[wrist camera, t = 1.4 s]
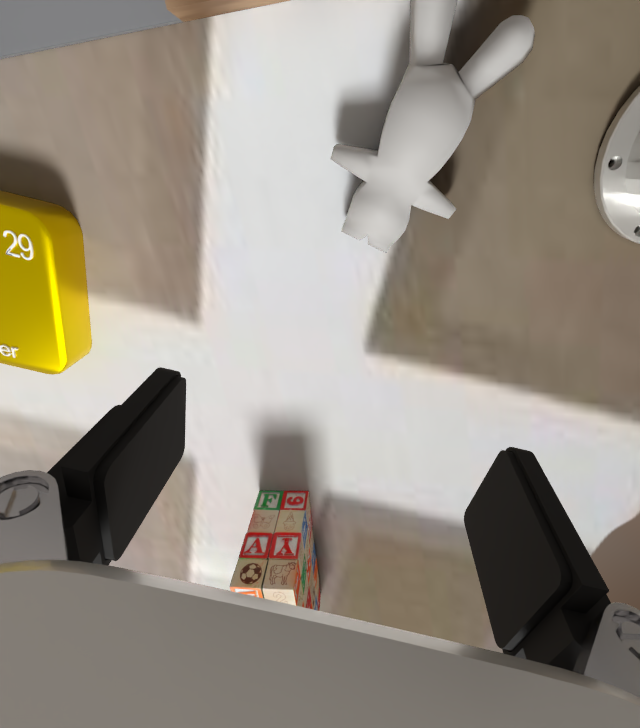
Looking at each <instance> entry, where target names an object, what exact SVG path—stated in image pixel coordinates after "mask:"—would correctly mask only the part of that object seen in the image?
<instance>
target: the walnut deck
mask: <svg viewBox="0 0 640 728" xmlns="http://www.w3.org/2000/svg"><path fill="white" fill-rule="evenodd" d="M284 1H289V0H165V4H166V8H167V10H168V11H170V12H171V13H172V14H174V15H175V16H176V17H177V18H179V19H180V20H181V21H183V22H186V21H191V20H196V19H201V18H206V17H210V16H215V15H220V14H225V13H230V12H235V11H240V10H245V9H250V8H255V7H260V6H265V5H269V4H274V3H279V2H284Z"/></svg>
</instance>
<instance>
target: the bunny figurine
mask: <svg viewBox="0 0 640 728" xmlns="http://www.w3.org/2000/svg"><path fill="white" fill-rule="evenodd" d="M456 5H457V0H411V1H410V59H409V64H408V67H407V69H406V71H405V74H404V76H403V78H402V81H401V83H400V86H399V88H398V90H397V92H396V94H395V96H394V98H393V100H392V102H391V104H390V107H389V110H388V113H387V116H386V119H385V122H384V126H383V129H382V133H381V138H380V143H379V148H378V150H373V149H367V148H361V147H355V146H348V145H342V144H336V145H335V146H334V149H333V152H332V156H331V160H333V161H334V162H336V163H337V164H339V165H340V166H342V167H343V168H345V169H346V170H348V171H349V172H351V173H352V174H354V175H355V176H357V177H359V178H360V179H362V180H364V181H363V182H362V183H361V184H360V185H359V187H358V188H357V190H356V191H355V193H354V195H353V198H352V201H351V204H350V207H349V210H348V214H347V217H346V220H345V222H344V225H343V227H342V232H344V233H346V234H348V235H350V236H352V237H354V238H356V239H358V240H361V239H363V238H364V237H366V236H367V235H368V245H371V246H373V247H375V248H377V249H379V250H381V251H383V252H385V253H387V251H388V249H389V248H390V246H391V245H392V244H393V243H395V242H396V241H397V240H398V239H399V237H400V236H401V235H402V234H403V233H404V232H405V229H406V227H407V224H408V221H409V217H410V210H411V205H413V206H415V207H417V208H420V209H422V210H425V211H428V212H431V213H433V214H436V215H439V216H442V217H444V218H447V219H449V218H450V216H451V215H452V214H453V213H454V211H455V210H456V208H455V207H454V205H453V204H452V202H451V201H450V200H449V199H448V198H447V197H446V196H445V195H444V194H443V193H442V192H441V191H440V190H439V189H438V188H437V187H436V186H435V185H434V184H433V183H432V182H431V181H430V179H431V178H432V177H433V176H434V175H435V174H436V173H437V172H438V171H439V170H440V169H441V168H442V167H443V165H444V164H445V163H446V162H447V160H448V159H449V158H450V156H451V155H452V154H453V152H454V151H455V149H456V148H457V146H458V145H459V143H460V142H461V140H462V138H463V136H464V134H465V132H466V130H467V128H468V126H469V124H470V122H471V118H472V113H473V109H474V104H475V100H476V98H478V97H479V96H480V95H482V94H483V93H484V92H485V91H487V90H488V89H489V88H491V87H492V86H493V85H494V84H496V83H497V82H498V81H500V80H501V79H502V78H503V77H505V76H506V75H507V74H509V73H510V72H511V71H512V70H514V69H515V68H516V67H517V66H519V65H520V64H521V63H523V61H524V60H525V59H526V57H527V56H528V55H529V53H530V52H531V51H532V48H533V43H534V37H535V32H534V27H533V25H532V23H531V21H530V19H529V18H528V17H525V16H523V15H513V16H511V17H509V18H507V19H506V20H504V21H502V22H501V23H500V24H499V25H498V26H497V28H496V29H495V30H494V31H493V32H492V33H491V35H490V36H489V37H488V38H487V39H486V40H485V42H484V43H483V44H482V45H481V46H480V48H479V49H478V50H477V51H476V52H475V53H474V55H473V56H472V57H471V58H470V59H469V61H468V62H467V63H466V64H465V65H464V66H463V68H462V69H461V70H460V71H459V72H458V71H457V69H456V68H455V67H454V66H453V64H449V63H443V61H444V56H445V52H446V48H447V43H448V39H449V35H450V30H451V26H452V22H453V18H454V13H455V9H456Z"/></svg>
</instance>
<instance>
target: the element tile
mask: <svg viewBox="0 0 640 728" xmlns="http://www.w3.org/2000/svg"><path fill="white" fill-rule="evenodd" d="M91 346H92V339H91V327H90V316H89V304H88V292H87V280H86V269H85V257H84V245H83V234H82V230H81V228H80V226H79V223H78V221H77V219H76V218H75V217H74V216H73V215H72V213H71V212H69V211H68V210H66V209H65V208H63V207H61V206H59V205H56V204H53V203H49V202H45V201H41V200H37V199H33V198H29V197H25V196H21V195H17V194H13V193H8V192H4V191H0V363H3V364H7V365H12V366H16V367H20V368H24V369H29V370H33V371H37V372H42V373H46V374H59V373H62V372H63V371H65V370H66V369H67V368H69V367H70V366H72V365H73V364H74V363H76V362H77V361H78V360H80V359H81V358H83V357H84V356H85V355H87V354H88V353H89V352H90V349H91Z"/></svg>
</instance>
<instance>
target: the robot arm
mask: <svg viewBox="0 0 640 728" xmlns="http://www.w3.org/2000/svg"><path fill="white" fill-rule="evenodd" d="M610 160H611V164H610V165H609V166H608V163H609V161H610ZM594 192H595V198H596V203H597V206H598V208H599V211H600V213H601V216H602V217H603V219H604V220H605V221H606V223H607V224H608V225H609V227H610V228H611V229H612V230H614V231H615V232H616V233H618V234H619V235H620V236H621V237H624V238H626V239H628V240H631V241H633V242H635V243H639V244H640V86H639V87H638V88H637V89H636V90H635V91H634V92H633V93H632V95H631V96H630V97H629V98H628V100H627V101H626V102H625V103H624V105H623V106H622V107H621V109H620V110H619V111H618V113H617V115H616V116H615V118H614V120H613V122H612V123H611V125H610V127H609V128H608V130H607V132H606V135H605V137H604V140H603V142H602V145H601V147H600V149H599V153H598V157H597V162H596V166H595V173H594ZM635 228H636V229H635ZM185 410H186V379H185V378H182V377H181V374H180V372H178V371H174V370H170V369H165V368H161V367H160V368H158V369H156V370H155V371H154V372H153V373H152V374H151V375H150V376H149V377H148V378H147V379H146V380H145V381H144V382H143V383H142V384H141V386H140V387H139V388H138V389H137V390H136V391H135V392H134V393H133V394H132V395H131V396H130V397H129V398H128V399H127V400H126V401H125V402H124V403H123V404H122V405H117V406H115V407H113V408H112V409H111V410H110V411H109V412H108V413H107V414H106V415H105V416H104V417H103V418H102V419H101V420H100V421H99V422H98V423H97V424H96V425H95V426H94V427H93V428H92V429H91V430H90V431H89V432H88V433H87V434H86V435H85V436H84V437H83V438H82V439H81V440H80V441H79V442H78V443H77V444H76V445H75V446H74V447H72V448H71V449H70V450H69V451H68V452H67V453H66V454H65V455H64V456H63V457H62V458H61V459H60V460H59V461H58V462H57V463H56V464H55V465H54V466H53V467H52V468H51V469H50V470H49V471H48V472H47V473H45V472H42V471H33V470H27V471H20V472H15V473H12V474H9V475H6V476H3V477H1V478H0V728H640V610H638V609H636V608H634V607H632V606H629V605H627V604H624V603H616V602H615V603H612V604H611V602H610V600H609V599H608V597H607V595H606V594H607V593H608V592H609V589H608V588H607V586H606V584H605V582H604V580H603V579H602V577H601V575H600V573H599V571H598V569H597V568H596V566H595V564H594V562H593V560H592V559H591V557H590V555H589V553H588V551H587V550H586V548H585V546H584V544H583V542H582V541H581V539H580V537H579V535H578V533H577V532H576V530H575V528H574V526H573V524H572V522H571V521H570V519H569V517H568V515H567V513H566V512H565V510H564V508H563V506H562V504H561V503H560V501H559V499H558V497H557V495H556V494H555V492H554V490H553V488H552V486H551V484H550V483H549V481H548V479H547V477H546V475H545V474H544V472H543V470H542V468H541V466H540V465H539V463H538V461H537V459H536V457H535V456H534V454H533V453H532V452H530V451H527V450H522V449H518V448H514V447H509V448H507V449H506V451H504V450H502V451H500V453H499V454H498V456H497V457H496V459H495V461H494V463H493V464H492V466H491V468H490V469H489V471H488V473H487V475H486V476H485V478H484V480H483V482H482V483H481V485H480V487H479V488H478V490H477V492H476V494H475V495H474V497H473V499H472V500H471V502H470V504H469V506H468V507H467V509H466V511H465V515H464V523H465V527H466V531H467V535H468V539H469V543H470V546H471V550H472V554H473V558H474V562H475V565H476V569H477V573H478V577H479V581H480V585H481V588H482V592H483V596H484V600H485V604H486V607H487V611H488V615H489V619H490V623H491V627H492V630H493V634H494V638H495V641H496V644H497V645H498V647H499V648H502V650H503V653H504V654H503V653H499V652H495V651H491V650H486V649H482V648H478V647H473V646H469V645H465V644H461V643H456V642H452V641H448V640H443V639H439V638H435V637H431V636H426V635H422V634H418V633H413V632H409V631H405V630H400V629H396V628H392V627H387V626H383V625H379V624H374V623H370V622H365V621H361V620H357V619H352V618H348V617H344V616H339V615H335V614H330V613H326V612H321V611H317V610H313V609H308V608H304V607H299V606H295V605H291V604H286V603H282V602H277V601H273V600H268V599H264V598H259V597H255V596H250V595H246V594H241V593H237V592H232V591H228V590H223V589H219V588H214V587H209V586H205V585H200V584H196V583H191V582H187V581H182V580H178V579H173V578H168V577H163V576H158V575H153V574H148V573H143V572H138V571H133V570H128V569H124V568H119V567H114V566H108V565H109V563H110V562H111V560H114V561H117V560H118V559H119V558H120V557H121V556H122V554H123V552H124V551H125V549H126V548H127V546H128V544H129V543H130V541H131V539H132V538H133V536H134V535H135V533H136V531H137V530H138V528H139V526H140V525H141V523H142V521H143V520H144V518H145V517H146V515H147V513H148V512H149V510H150V508H151V507H152V505H153V504H154V502H155V500H156V499H157V497H158V495H159V494H160V492H161V491H162V489H163V487H164V486H165V484H166V482H167V481H168V479H169V477H170V476H171V474H172V473H173V471H174V469H175V468H176V466H177V464H178V463H179V461H180V460H181V458H182V455H183V452H184V448H185Z"/></svg>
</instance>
